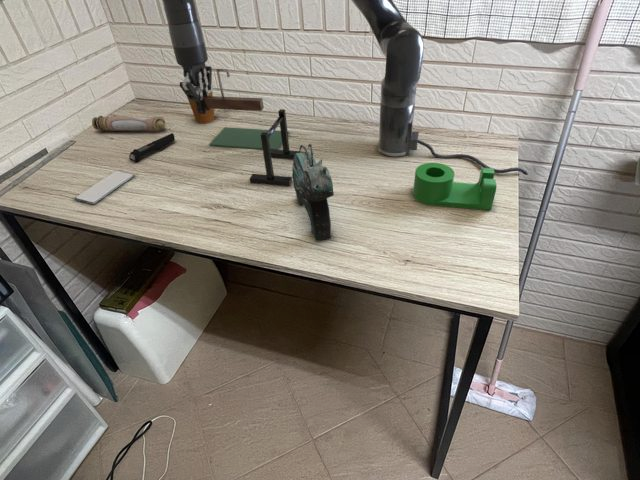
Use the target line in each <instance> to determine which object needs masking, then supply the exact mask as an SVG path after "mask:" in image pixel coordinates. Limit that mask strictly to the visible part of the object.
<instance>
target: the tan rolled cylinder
mask: <svg viewBox="0 0 640 480" xmlns="http://www.w3.org/2000/svg"><path fill="white" fill-rule="evenodd" d="M91 125H92V127H93V129H94V130H99V131H101V132H104V131H112V132H114V131H118V132H119V131H122V132H135V131H137V132H138V131H150V132H156V131H157V132H158V131H163V130H164V128H165V127H166V120H165V118H164V117H162V116H157V115H155V116H152V117H136V116H123V115H112V116H103V115H98V116H94V117H93V118H92V119H91Z"/></svg>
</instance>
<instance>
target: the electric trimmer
mask: <svg viewBox="0 0 640 480" xmlns="http://www.w3.org/2000/svg"><path fill="white" fill-rule="evenodd" d="M175 140H176V139H175V133H173V132H171V133H169V134H167V135H164V136H163V137H160V138H158V139H155V140H154V141H151V142H149V143H147V144H146V145H143V146H140V147H138V148H134V149H133V150H132V151H130V153H129V156H128V157H129V160H130V162H132V163H139V162H140V160H141V159H143V158H145V157H147V156H149V155H150V154H153V153H154V152H156V151H161V150H163V149H164V148H166V147H167V146H169V145H170V144H172V143H173V142H174V141H175Z"/></svg>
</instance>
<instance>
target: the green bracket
mask: <svg viewBox="0 0 640 480" xmlns="http://www.w3.org/2000/svg"><path fill="white" fill-rule="evenodd" d="M494 169H495V168H493V167H490V168H483V167H481V168H480V173H479V178H478V181H477V182H476V183H471V182H469V183H468V182H455V175H456V173H455V171H454V169H453V168H452V167H451V166H449V165H447V164H444V163H440V162H425V163H422V164H420V165H418V166H416V168H415V172H414V180H413V190H412V196H413V198H414V199H415V200H416V202H418V203H420V204H423V205H425V206H435V207H448V208H458V209H460V208H461V209H469V210H470V209H471V210H483V211H492V208H493V204H494V200H495V195H496V192H497V180H496V178H495V174H496V173H494Z"/></svg>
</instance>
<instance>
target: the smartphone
mask: <svg viewBox="0 0 640 480" xmlns="http://www.w3.org/2000/svg"><path fill="white" fill-rule="evenodd" d="M134 176H135V175H134V174H133V173H130V172H126V171H121V170H113V171H112V172H111V173H109V174H108V175H106V176H105V177H104V178H102V179H101V180H99V181H97V182H96V183H95V184H93V185H92V186H90V187H88V188H86V189H85V190H84V191H83V192H81V193H78V195H76V196H74V200H76V201H79V202H83V203H85V204H86V203H87V204H89V205H94V204H97V203H98V202H99V201H101V200H102V199H103V198H106V197H107V196H108V195H109V194H111V193H112V192H114V191H115V190H116V189H117V188H119V187H121V186H122V185H123V184H125V183H126V182H128V181H129V180H131V179H132V178H133V177H134Z"/></svg>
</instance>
